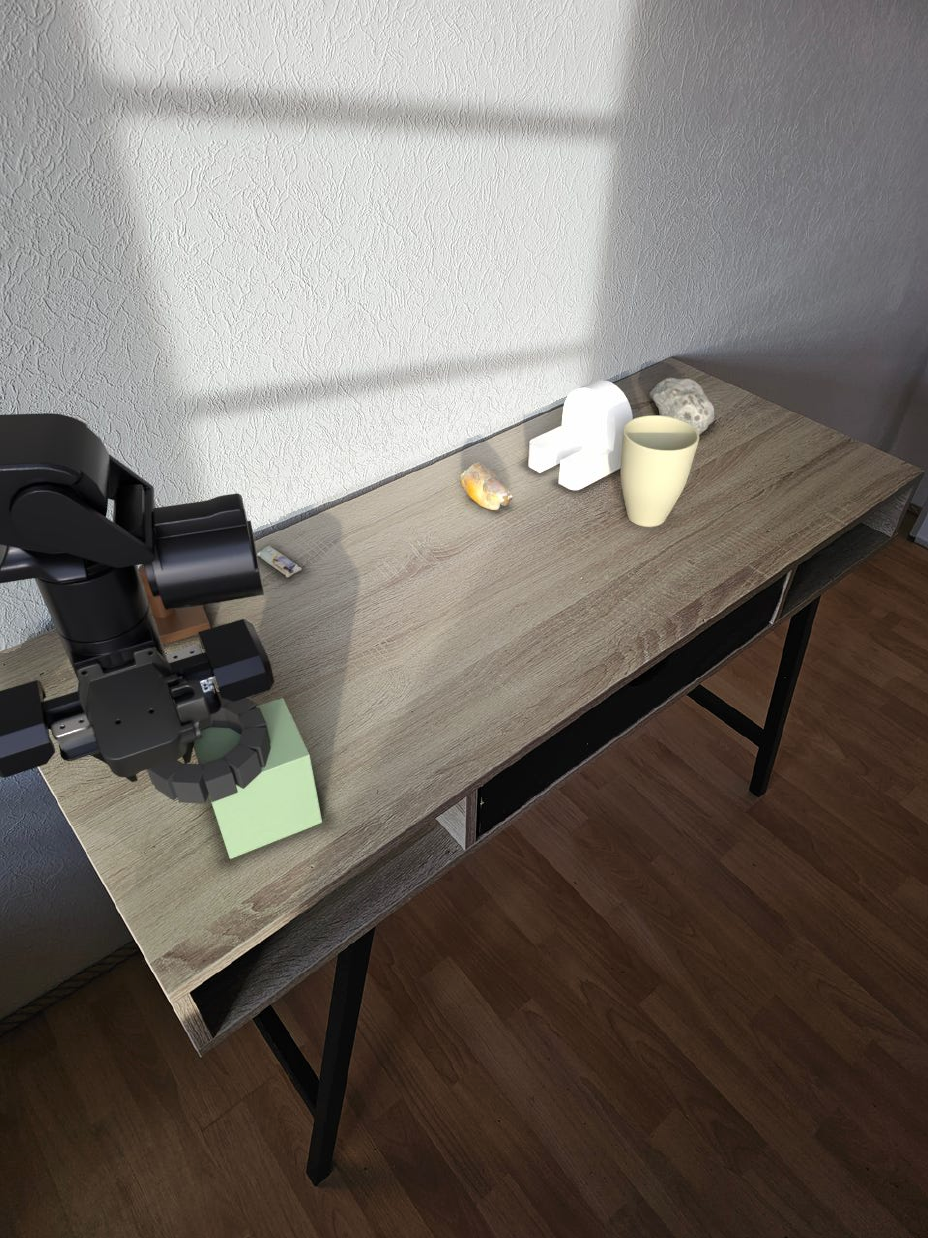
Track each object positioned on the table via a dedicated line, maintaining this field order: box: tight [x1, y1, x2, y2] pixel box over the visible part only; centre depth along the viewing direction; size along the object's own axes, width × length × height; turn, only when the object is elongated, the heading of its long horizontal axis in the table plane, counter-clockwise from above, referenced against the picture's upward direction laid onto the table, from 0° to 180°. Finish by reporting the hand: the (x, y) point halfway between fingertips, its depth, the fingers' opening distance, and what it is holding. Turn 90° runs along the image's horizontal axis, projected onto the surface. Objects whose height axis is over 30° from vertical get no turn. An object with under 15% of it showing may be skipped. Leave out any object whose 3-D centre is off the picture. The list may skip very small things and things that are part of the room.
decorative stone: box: [649, 377, 715, 435], centre depth 125 cm, size 12×11×5 cm
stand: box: [138, 564, 211, 646], centre depth 88 cm, size 8×8×7 cm
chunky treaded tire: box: [146, 691, 271, 805], centre depth 63 cm, size 9×9×2 cm
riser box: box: [193, 697, 323, 860], centre depth 68 cm, size 8×7×9 cm
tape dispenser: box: [527, 379, 634, 491], centre depth 114 cm, size 10×18×11 cm, turn 131°
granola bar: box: [257, 545, 303, 579], centre depth 97 cm, size 7×2×1 cm, turn 46°
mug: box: [620, 414, 700, 528], centre depth 103 cm, size 11×10×12 cm
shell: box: [460, 462, 514, 511], centre depth 107 cm, size 8×4×5 cm, turn 49°
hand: (160, 768), depth 63 cm, fingers open, 4 cm apart
